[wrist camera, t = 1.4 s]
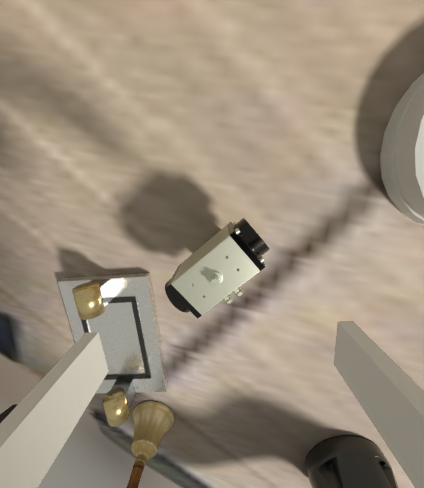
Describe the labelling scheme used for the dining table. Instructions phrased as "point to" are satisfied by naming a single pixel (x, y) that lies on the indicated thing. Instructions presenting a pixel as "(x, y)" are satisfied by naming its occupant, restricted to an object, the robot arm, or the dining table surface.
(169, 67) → the dining table surface
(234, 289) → the pneumatic valve
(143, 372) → the plate
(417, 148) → the dish
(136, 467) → the hand bell
